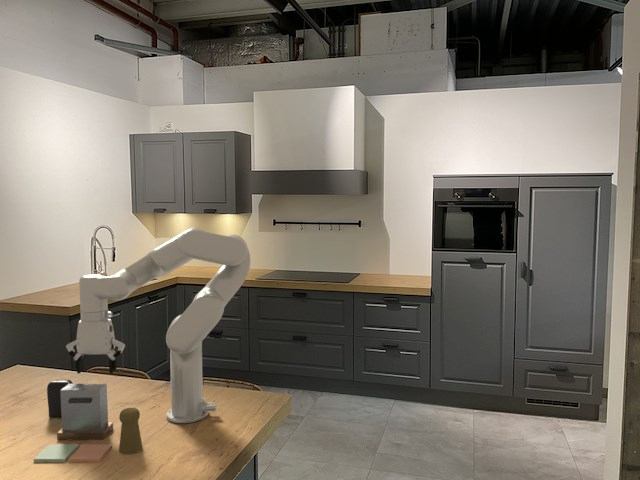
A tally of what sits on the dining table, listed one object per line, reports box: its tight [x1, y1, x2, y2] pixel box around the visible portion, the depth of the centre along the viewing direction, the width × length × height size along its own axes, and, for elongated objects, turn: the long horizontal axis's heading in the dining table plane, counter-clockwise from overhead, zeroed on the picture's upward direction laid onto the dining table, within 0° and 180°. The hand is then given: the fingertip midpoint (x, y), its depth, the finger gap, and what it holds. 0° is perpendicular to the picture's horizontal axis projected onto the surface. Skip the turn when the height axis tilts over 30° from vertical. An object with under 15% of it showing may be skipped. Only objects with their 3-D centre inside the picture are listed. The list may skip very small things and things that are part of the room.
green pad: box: [33, 444, 80, 463], centre depth 143 cm, size 8×8×1 cm
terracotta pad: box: [68, 443, 113, 463], centre depth 143 cm, size 8×8×1 cm
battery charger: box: [46, 378, 74, 419], centre depth 167 cm, size 7×4×11 cm, turn 92°
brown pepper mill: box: [118, 407, 143, 455], centre depth 146 cm, size 6×6×11 cm
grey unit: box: [56, 383, 114, 441], centre depth 154 cm, size 13×7×14 cm, turn 90°
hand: (96, 371), depth 163 cm, fingers open, 9 cm apart
